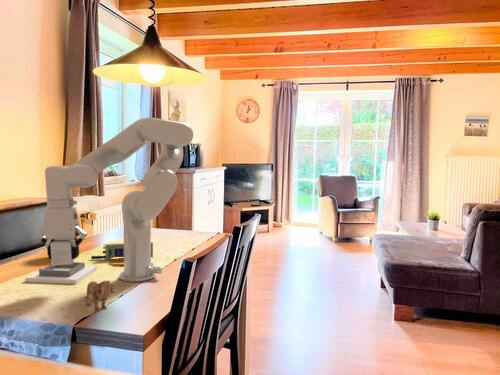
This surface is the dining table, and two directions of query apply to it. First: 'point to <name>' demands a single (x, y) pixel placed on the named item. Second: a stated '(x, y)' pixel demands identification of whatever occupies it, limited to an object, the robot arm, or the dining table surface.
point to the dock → (62, 273)
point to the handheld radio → (115, 251)
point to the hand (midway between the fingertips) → (63, 257)
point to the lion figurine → (99, 293)
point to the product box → (61, 252)
